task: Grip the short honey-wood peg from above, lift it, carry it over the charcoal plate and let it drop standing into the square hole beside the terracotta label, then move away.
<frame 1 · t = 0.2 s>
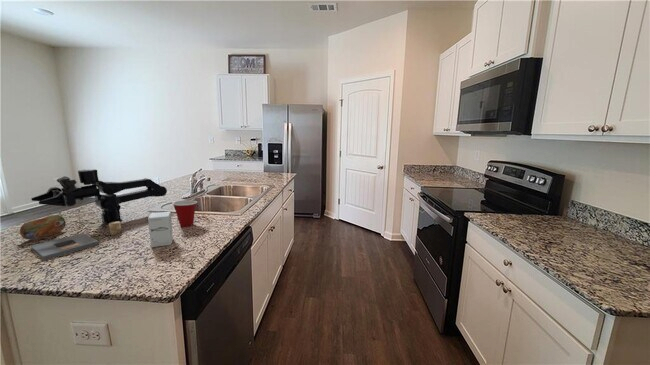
hand: (35, 201, 111), 17 cm above the counter, tool horizontal, fingers open, 9 cm apart
tin: (45, 236, 117), on the counter
hole plate: (65, 246, 106), on the counter
plastic cup: (187, 225, 132), on the counter
supplement box: (162, 243, 111), on the counter
peg: (116, 233, 120), on the counter
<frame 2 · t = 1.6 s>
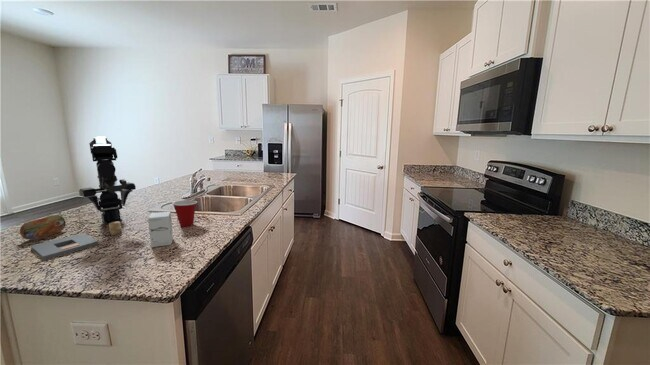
hand: (111, 208, 118), 12 cm above the counter, tool pointing down, fingers open, 9 cm apart
nothing on the counter moved.
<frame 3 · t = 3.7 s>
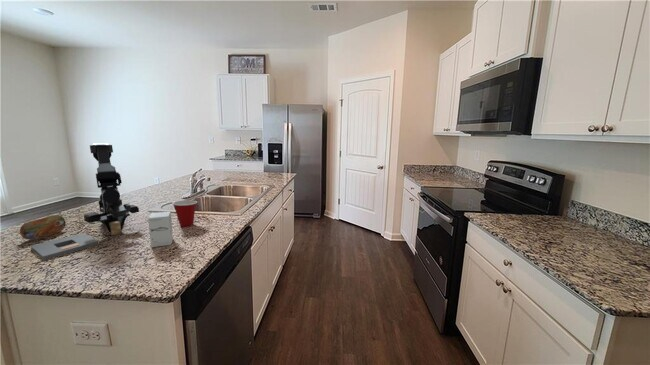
hand: (115, 231, 120), 1 cm above the counter, tool pointing down, fingers closed on peg, 4 cm apart
peg: (116, 233, 120), on the counter, touching gripper
everything else where it was.
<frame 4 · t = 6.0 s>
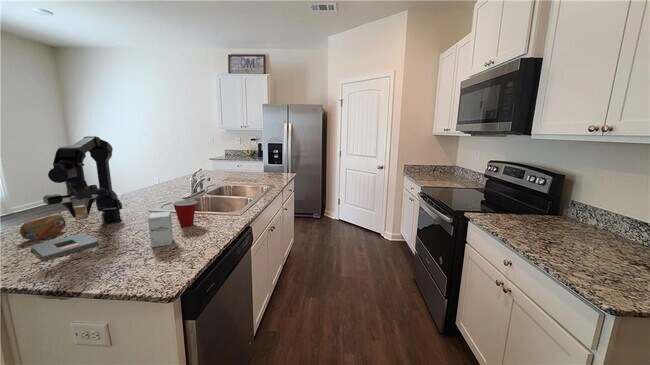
hand: (81, 215, 109), 11 cm above the counter, tool pointing down, fingers closed on peg, 4 cm apart
peg: (81, 218, 109), point 10 cm above the counter, touching gripper
everything else where it was.
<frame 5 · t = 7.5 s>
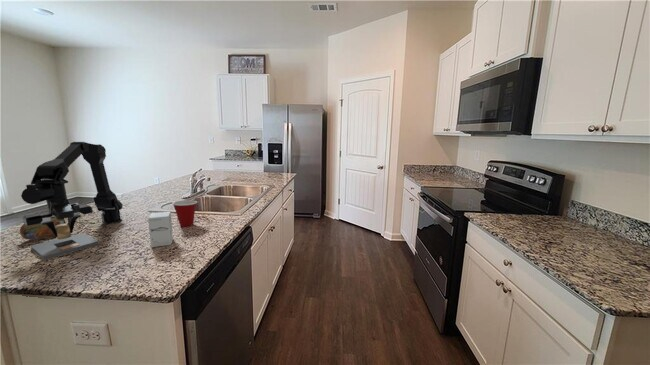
hand: (63, 234, 105), 5 cm above the counter, tool pointing down, fingers closed on peg, 4 cm apart
peg: (64, 237, 105), point 4 cm above the counter, touching gripper
everything else where it was.
when the fingers open (3 cm above the counter, at t = 8.6 s): peg drops 2 cm, resting in hole plate.
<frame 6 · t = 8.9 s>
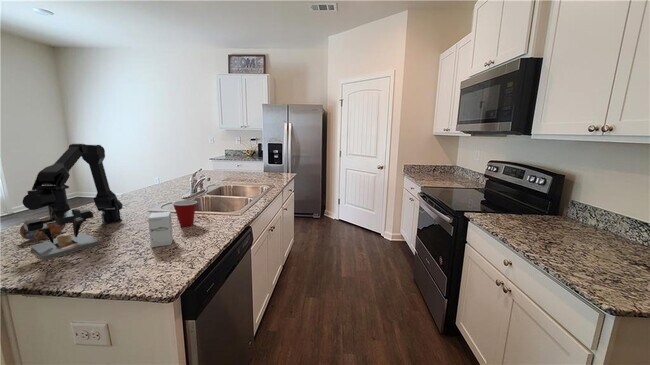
hand: (64, 239, 106), 3 cm above the counter, tool pointing down, fingers open, 7 cm apart
peg: (66, 247, 106), resting in hole plate
everything else where it was.
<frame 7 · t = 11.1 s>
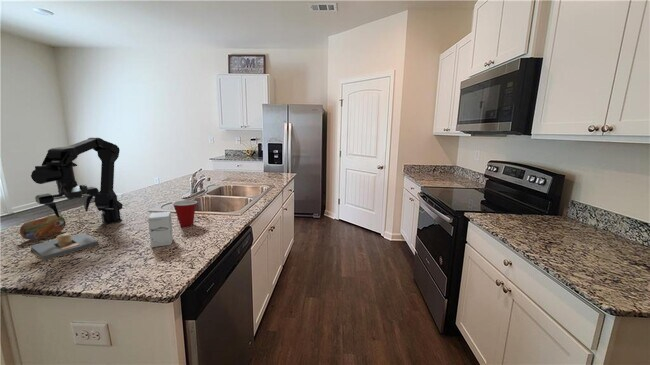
hand: (72, 214, 114), 11 cm above the counter, tool pointing down, fingers open, 9 cm apart
nothing on the counter moved.
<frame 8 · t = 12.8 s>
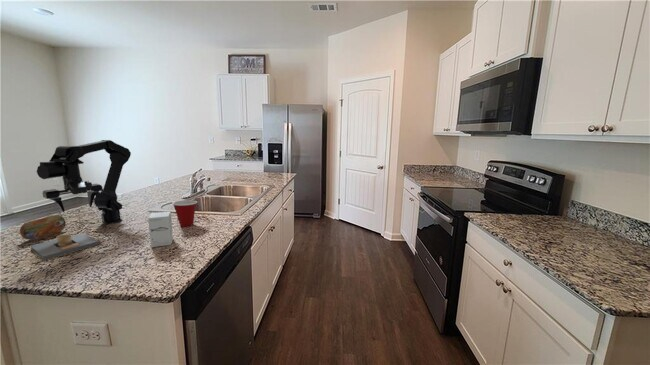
hand: (77, 209, 119), 11 cm above the counter, tool pointing down, fingers open, 9 cm apart
nothing on the counter moved.
at the end: peg 0.1 cm off-centre on the hole plate, point 0.0 cm above the hole plate's base; peg tilted 1°; the gripper is holding nothing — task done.
